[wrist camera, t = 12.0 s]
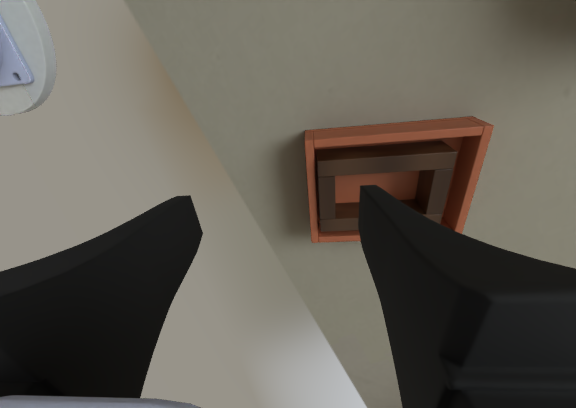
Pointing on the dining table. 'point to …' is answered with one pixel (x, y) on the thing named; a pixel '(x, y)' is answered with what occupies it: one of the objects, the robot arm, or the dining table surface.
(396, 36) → the dining table surface
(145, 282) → the robot arm
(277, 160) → the dining table surface
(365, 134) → the holder
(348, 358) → the dining table surface
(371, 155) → the frame
